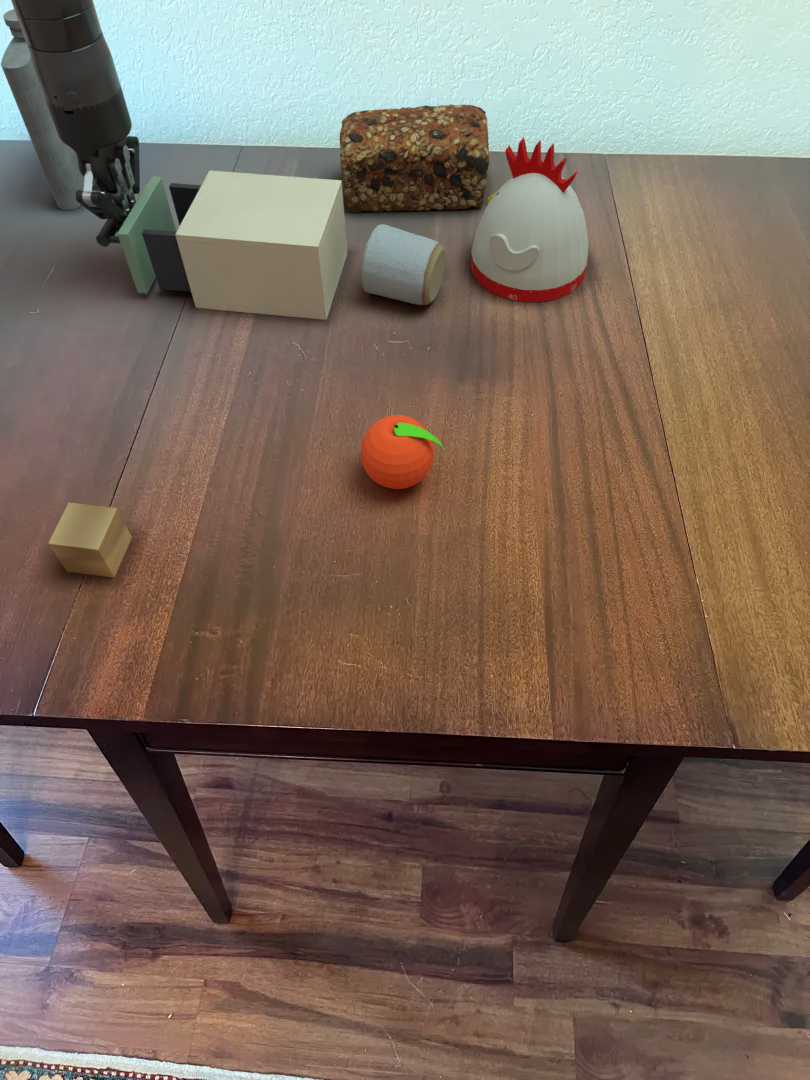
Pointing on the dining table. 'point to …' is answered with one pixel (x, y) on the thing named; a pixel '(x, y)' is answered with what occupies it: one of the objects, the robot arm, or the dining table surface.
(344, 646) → the dining table surface
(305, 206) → the drawer cabinet
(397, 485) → the clementine
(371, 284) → the ceramic mug
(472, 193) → the bread
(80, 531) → the block
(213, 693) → the dining table surface
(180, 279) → the drawer
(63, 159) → the hip flask
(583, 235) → the kitchen timer
